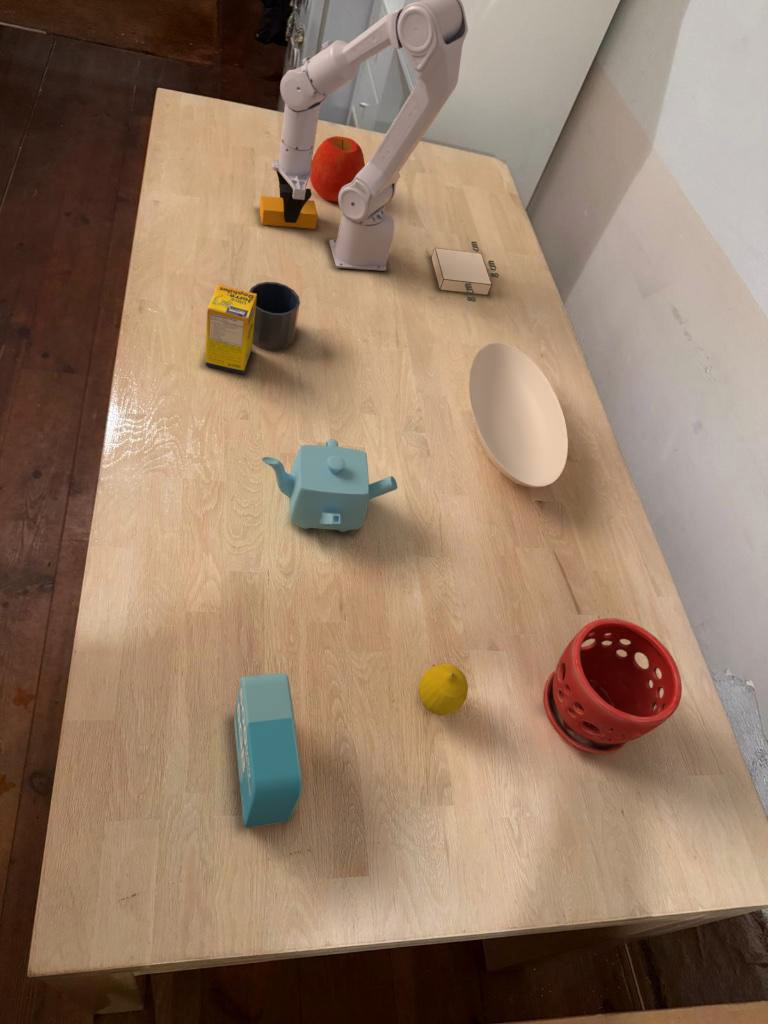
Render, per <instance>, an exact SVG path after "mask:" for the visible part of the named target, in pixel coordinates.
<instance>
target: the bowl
mask: <svg viewBox="0 0 768 1024" xmlns="http://www.w3.org/2000/svg"><path fill="white" fill-rule="evenodd" d="M469 369H470V370H469V373H468V374H469V375H468V398H469V399H468V400H469V407H470V412H471V417H472V422H473V426H474V429H475V432H476V435H477V437H478V440H479V443H480V444H481V447H482V448H483V450H484V452H485V454H486V455H487V457H488V459H489V460H490V461H491V463H492V464H493V465H494V467H495V468H496V469H497V471H499V472H500V473H501V474H502V475H503V476H504V477H505V478H507V479H508V480H510V481H511V482H513V483H515V484H518V485H521V486H523V487H528V488H544V487H548V486H550V485H552V484H553V483H554V482H556V481H557V480H558V479H559V477H560V476H561V475H562V473H563V471H564V469H565V466H566V463H567V458H568V453H569V451H568V450H569V440H568V439H569V437H568V430H567V424H566V420H565V415H564V412H563V409H562V406H561V404H560V402H559V398H558V396H557V394H556V392H555V391H554V388H553V386H552V385H551V383H550V381H549V380H548V378H547V376H546V375H545V373H544V371H542V370H541V368H540V366H538V365H537V363H535V361H534V360H533V359H532V358H531V357H529V356H528V355H527V354H526V353H525V352H523V351H522V350H520V349H519V348H517V347H515V346H514V345H512V344H508V343H505V342H492V343H488V344H485V345H484V346H483V347H482V348H480V349H479V350H478V351H477V353H476V354H475V355H474V358H473V360H472V363H471V365H470V368H469Z"/></svg>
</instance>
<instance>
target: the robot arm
mask: <svg viewBox="0 0 768 1024" xmlns="http://www.w3.org/2000/svg"><path fill="white" fill-rule="evenodd" d="M468 33H469V26H468V22H467V16H466V11H465V8H464V5H463V2H462V1H461V0H417V1H415V2H411V3H409V4H407V5H406V6H403V7H401V8H399V9H396V10H394V11H392V12H389V13H387V14H386V15H383V17H382V18H381V19H379V20H378V21H376V22H375V23H374V24H372V25H371V26H370V27H368V28H367V29H366V30H365V31H363V32H362V33H361V34H359V35H357V37H355V38H354V39H352V40H351V41H350V42H349V43H348V42H346V41H344V40H341V39H337V40H335V41H334V40H333V39H330V40H327V41H326V42H323V44H322V45H321V47H322V50H321V51H319V52H318V53H316V54H315V55H314V56H312V57H311V56H307V57H304V58H303V59H302V60H301V62H302V65H301V66H298V67H297V68H295V69H288V70H287V71H286V73H285V74H284V75H283V77H282V78H281V80H280V85H279V91H280V96H281V98H282V101H283V102H284V108H283V109H284V110H283V118H282V119H283V120H282V128H281V136H280V137H281V138H280V146H279V154H278V159H277V160H272V161H271V162H270V166H271V169H272V171H275V172H276V174H277V179H278V188H279V189H278V190H279V198H283V207H284V220H285V222H288V223H296V222H297V219H298V217H299V215H300V212H301V210H302V208H303V206H304V204H305V203H306V202H307V201H308V200H310V199H311V198H312V194H313V193H312V189H311V188H307V184H308V182H309V180H310V175H311V171H312V168H311V163H312V159H313V157H314V155H313V154H314V151H315V143H316V137H317V136H316V135H317V130H318V123H319V115H320V111H321V108H322V104H323V102H324V101H326V99H328V97H329V96H330V95H331V94H334V93H335V92H336V91H338V90H340V89H341V88H343V87H345V85H347V84H349V83H351V82H352V81H353V80H355V79H356V78H357V76H358V74H359V69H360V68H359V67H360V65H361V64H362V63H364V62H366V61H367V60H369V59H370V58H372V57H374V56H376V55H377V54H379V53H380V52H382V51H384V50H386V49H387V48H389V47H391V46H392V47H394V48H395V49H397V50H400V49H403V50H404V53H405V55H406V56H407V59H408V60H409V62H410V65H411V67H412V69H413V71H414V73H415V75H416V77H417V83H416V84H415V86H414V87H413V89H412V90H411V93H410V94H409V95H408V97H407V98H406V101H405V102H404V104H403V105H402V107H401V109H400V110H399V111H398V113H397V115H396V117H395V118H394V120H393V122H392V123H391V125H390V127H389V128H388V130H387V131H386V132H385V135H384V136H383V138H382V140H381V141H380V142H379V144H378V146H377V148H376V150H375V151H374V153H373V154H372V155H371V157H370V159H369V161H368V162H367V163H365V166H364V167H363V169H362V170H361V171H360V172H359V173H358V174H357V175H356V176H355V178H354V180H353V181H352V182H351V183H349V184H347V185H345V186H343V187H342V188H341V190H340V192H339V196H338V202H337V203H338V206H339V209H340V211H341V217H340V221H339V226H338V232H337V236H336V237H337V238H336V239H334V238H333V239H332V238H331V239H329V246H330V249H331V254H332V257H333V261H334V265H335V267H336V268H338V269H351V270H366V271H379V272H380V271H381V272H382V271H384V272H385V271H387V262H388V259H389V256H390V255H389V254H390V251H391V247H392V244H393V239H394V233H395V222H394V217H393V215H392V214H391V213H389V212H385V208H386V204H388V203H390V202H391V201H392V200H393V198H394V196H395V193H396V187H397V183H398V181H399V179H400V178H401V174H400V172H401V171H402V169H403V167H404V166H405V164H406V162H407V161H408V160H409V158H410V157H411V156H412V154H413V153H414V152H415V151H414V150H415V149H416V148H417V146H418V145H419V143H420V142H421V140H422V139H423V137H424V136H425V134H426V132H428V130H429V128H430V127H431V125H432V124H433V122H434V121H435V119H436V118H437V117H438V114H439V113H440V112H441V110H442V108H444V106H445V104H446V103H447V101H448V100H449V98H450V97H451V95H452V93H453V92H454V91H455V89H456V87H457V86H458V81H459V74H460V67H461V59H462V53H463V45H464V42H465V39H466V37H467V35H468Z"/></svg>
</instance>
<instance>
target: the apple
mask: <svg viewBox="0 0 768 1024" xmlns="http://www.w3.org/2000/svg"><path fill="white" fill-rule="evenodd" d="M365 165H366V163H365V156H364V153H363V149H362V147H361V146H360V144H359V143H357V142H356V141H355V140H354V139H352V138H349V137H346V136H340V135H339V136H338V135H337V136H336V135H334V136H331V137H328V138H327V139H325V140H323V141H322V142H321V144H320V145H319V146H318V147H317V149H316V151H315V153H314V155H313V156H312V163H311V168H312V171H311V175H310V178H309V180H310V183H311V185H312V188H313V189H314V190H315V192H316V193H317V194H318V196H320V197H322V198H323V199H324V200H325V201H326V200H327V201H330V202H334V203H339V202H338V196H339V192H340V190H341V188H342V187H343V186H345V185H347V184H349V183H351V182H352V181H353V180H354V178H355V176H356V175H357V174H358V173H359V172H360V171H361V170H362V169H363V167H364V166H365Z"/></svg>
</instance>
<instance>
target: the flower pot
mask: <svg viewBox="0 0 768 1024" xmlns="http://www.w3.org/2000/svg"><path fill="white" fill-rule="evenodd" d="M590 640H594V641H593V642H592V643H589V644H588V645H584V646H582V645H583V644H584V643H585V642H586V641H590ZM622 640H626V641H628V642H630V643H629V644H624V643H622V642H621V641H622ZM604 642H610V644H605V643H604ZM603 643H604V644H603ZM618 651H623V652H625V653H626V654H627V655H626V656H625V655H624V656H622V655H619V653H618ZM637 653H639V654H641V655H643V656H644V657H645V658H646V659H647V661H648V662H647V663H648V666H647V667H646V668H643V667H642V666H641V665H640V664H639V663H638V662H637V660H636V654H637ZM657 669H658V670H659V672H660V678H659V676H658V674H657ZM650 681H651V683H652V686H651V684H650ZM682 685H683V684H682V677H681V674H680V671H679V668H678V666H677V663H676V661H675V659H674V657H673V656H672V654H671V653H670V651H669V650H668V648H667V647H666V646H665V645H664V644H663V643H662V642H661V640H659V639H658V638H657V637H656V636H655V635H654V634H652V633H651V632H650V631H648V630H647V629H645V628H643V627H642V626H639V625H638V624H636V623H633V622H630V621H628V620H624V619H619V618H601V619H596V620H593V621H590V622H589V623H587V624H585V625H584V626H583V627H582V628H581V629H580V630H579V631H578V632H577V633H576V634H575V636H574V637H572V639H571V641H570V642H569V643H568V644H567V645H566V647H565V648H564V650H563V651H562V654H561V655H560V657H559V660H558V661H557V663H556V667H555V670H553V671H552V673H550V675H549V676H548V679H546V681H545V684H544V688H543V696H542V697H543V698H542V699H543V706H544V707H543V708H544V711H545V714H546V717H547V719H548V721H549V723H550V725H551V727H552V728H553V729H554V730H555V732H556V733H557V734H558V736H559V737H561V738H562V739H563V740H564V741H565V742H566V743H567V744H569V745H570V746H571V747H573V748H574V749H577V750H578V751H582V752H584V753H588V754H593V755H608V754H612V753H615V752H617V751H620V750H621V749H622V748H623V747H625V746H626V745H627V744H628V742H632V741H634V740H637V739H639V738H641V737H644V736H645V735H647V734H648V733H650V732H652V731H654V730H655V729H657V728H659V727H660V726H661V725H663V724H664V723H665V722H666V721H668V719H670V718H671V717H672V716H673V715H674V713H675V712H676V711H677V710H678V707H679V705H680V703H681V699H682V692H683V686H682ZM661 689H662V691H663V692H662V693H663V694H662V696H661Z"/></svg>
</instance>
